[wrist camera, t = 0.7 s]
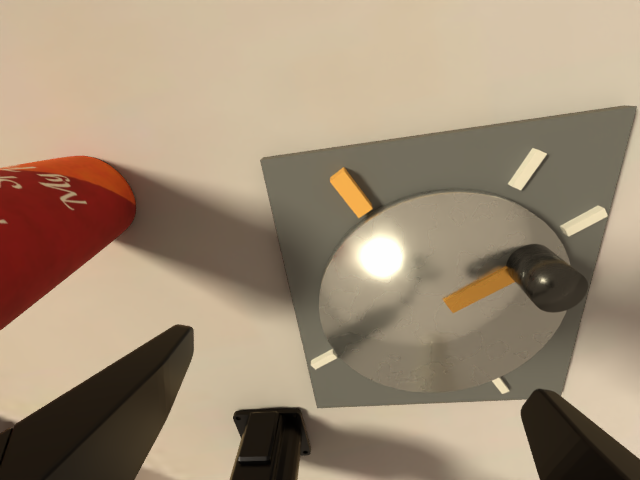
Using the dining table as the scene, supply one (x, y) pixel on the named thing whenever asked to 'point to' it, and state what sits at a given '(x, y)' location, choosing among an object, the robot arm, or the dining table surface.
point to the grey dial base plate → (443, 173)
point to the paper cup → (55, 224)
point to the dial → (446, 290)
